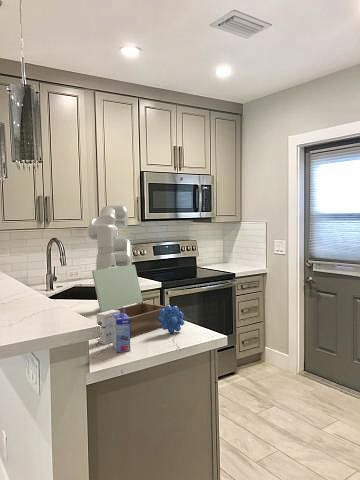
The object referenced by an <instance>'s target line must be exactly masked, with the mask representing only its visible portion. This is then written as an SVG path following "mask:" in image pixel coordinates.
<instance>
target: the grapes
mask: <svg viewBox="0 0 360 480" xmlns="http://www.w3.org/2000/svg"><path fill="white" fill-rule="evenodd" d="M164 306H165V309H161V310H160V314H161V315H162V316H159V317H158V320H159V322H160V323H162V324H161V327H162V328H161V329H162V330H167V331H168V333H171V334H174V332H175V331H176V332H180V331H181V329H182V327H181V326H184V325H185V320H184V319H183V318H184V312H182V311H179V307H178V306H177V305H174V306H171V304H166V305H164Z"/></svg>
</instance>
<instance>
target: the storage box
mask: <svg viewBox="0 0 360 480" xmlns="http://www.w3.org/2000/svg"><path fill="white" fill-rule="evenodd" d="M165 306H166V305H160V304H155V303H147V302H139V303H135V304H131V305H127V306H123V308H119V309H115V310H119V311H120V314H121V313H122V311H123V309H125V313H126V315H127V316H128V317H129V318H130V339H131V338H133V337H134V338H135V337H138V336H140V335H143V334H146V333H150V332H152V331H155V330H159V329H162V327H161V324H162V323H160V322H159V320H158V317H159V316H162V315H161V314H160V310H161V309H165ZM123 313H124V311H123ZM158 328H159V329H158Z"/></svg>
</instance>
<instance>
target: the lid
mask: <svg viewBox="0 0 360 480" xmlns="http://www.w3.org/2000/svg"><path fill="white" fill-rule="evenodd" d="M91 273H92V277H93V282H94V283H93V284H94V287H95V293H96V298H97V302H98V308H99V309H100V311H99V313H102V311H106V310H111V309H115V308H119V307H127V306H131V305H135V304H139V303H144V301H143V296H142V292H141V286H140V281H139V278H138V273H137V269H136V265H135V264H131V265H128V266H121V267H118V266H116V267H112V268H111V267H109V268H107V269H100V270H96V269H95V270H94V269H93V270H91Z"/></svg>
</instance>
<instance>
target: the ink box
mask: <svg viewBox="0 0 360 480" xmlns="http://www.w3.org/2000/svg"><path fill="white" fill-rule="evenodd" d="M113 314H120V311H119V310H109V311H106V312H99V313H96V325H97V324H98V325H100V326H101V338H100V339H98V338H97V343H98V342H99V344H102V345H109V344H111V343H112V344H113Z"/></svg>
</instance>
